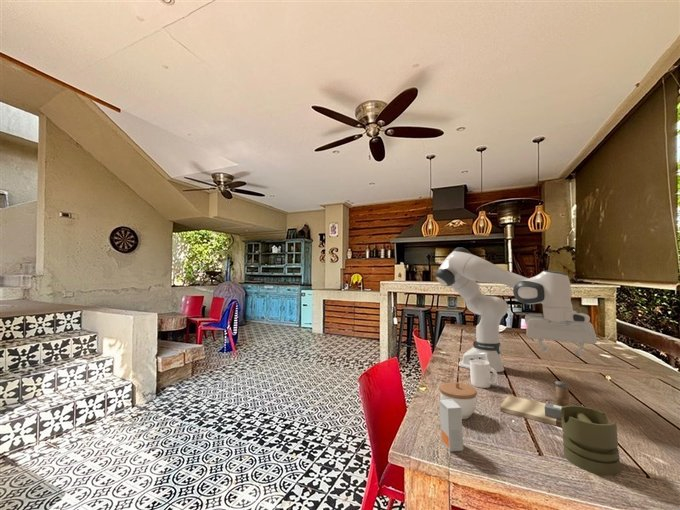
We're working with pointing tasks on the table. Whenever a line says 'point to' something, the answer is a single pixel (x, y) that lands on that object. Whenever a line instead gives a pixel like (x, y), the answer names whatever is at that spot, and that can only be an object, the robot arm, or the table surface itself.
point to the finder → (553, 411)
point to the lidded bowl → (460, 396)
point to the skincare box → (451, 425)
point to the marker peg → (562, 393)
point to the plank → (528, 410)
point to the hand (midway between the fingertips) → (560, 353)
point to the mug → (481, 373)
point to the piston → (590, 440)
